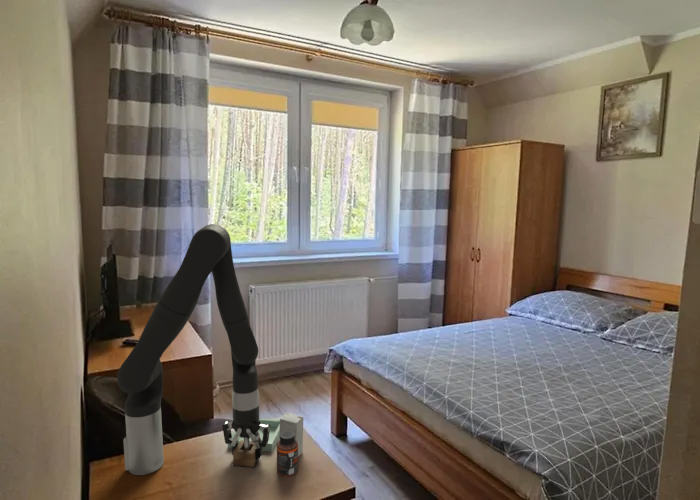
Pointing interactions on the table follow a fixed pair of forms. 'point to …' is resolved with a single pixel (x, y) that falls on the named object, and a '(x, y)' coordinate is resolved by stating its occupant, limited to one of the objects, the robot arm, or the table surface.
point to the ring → (244, 455)
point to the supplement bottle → (287, 454)
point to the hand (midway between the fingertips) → (247, 457)
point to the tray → (273, 434)
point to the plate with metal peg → (247, 447)
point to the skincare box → (293, 428)
